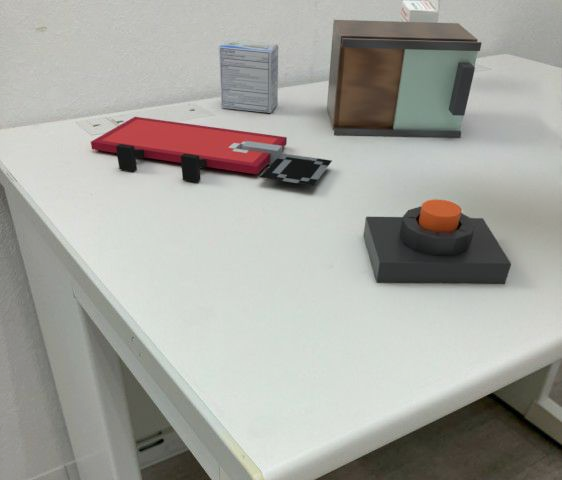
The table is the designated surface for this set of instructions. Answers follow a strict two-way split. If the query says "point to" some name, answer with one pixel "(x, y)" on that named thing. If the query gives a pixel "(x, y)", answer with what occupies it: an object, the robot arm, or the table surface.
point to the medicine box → (249, 75)
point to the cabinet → (381, 71)
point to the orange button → (439, 215)
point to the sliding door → (434, 89)
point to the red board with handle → (207, 150)
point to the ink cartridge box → (420, 11)
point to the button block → (434, 251)
